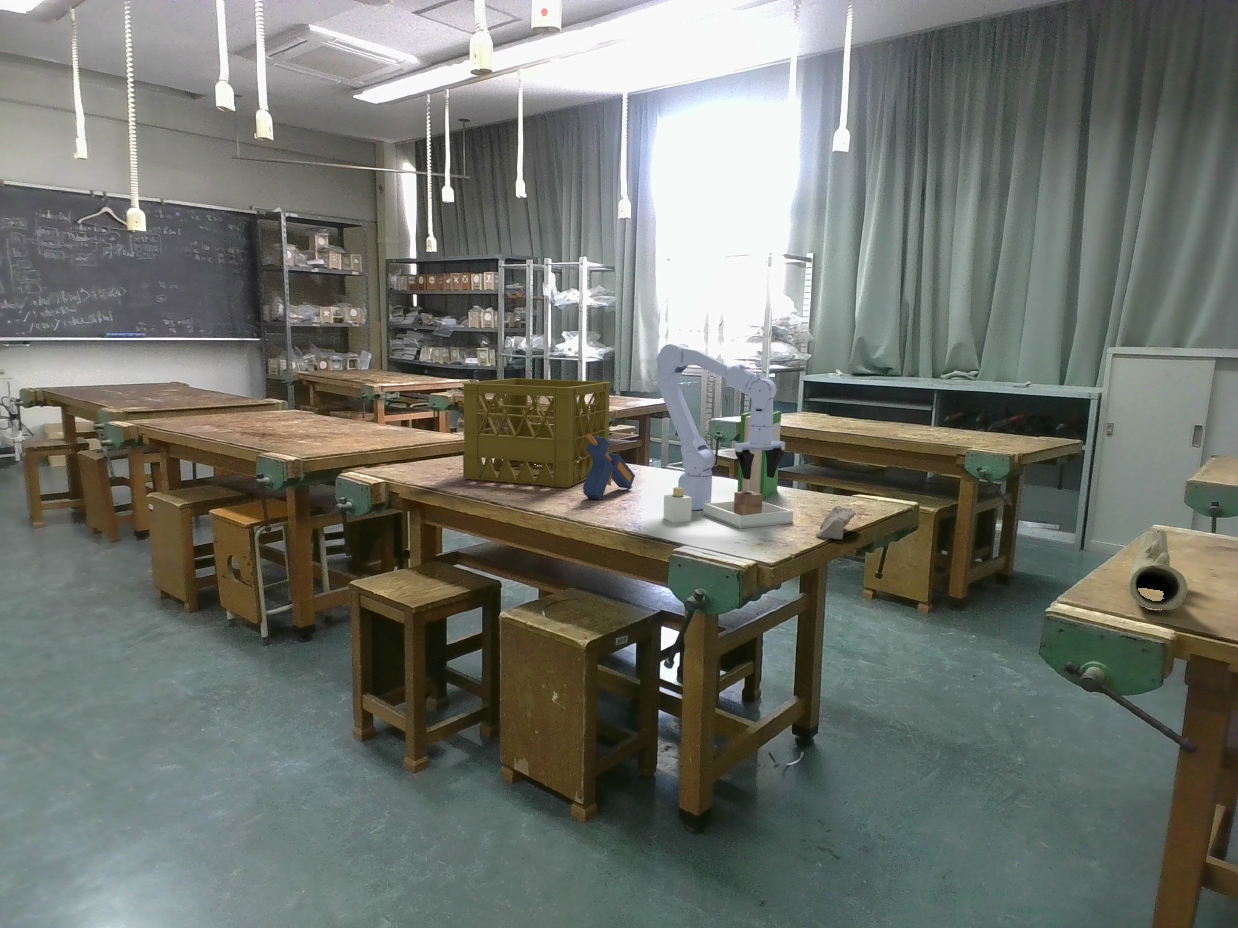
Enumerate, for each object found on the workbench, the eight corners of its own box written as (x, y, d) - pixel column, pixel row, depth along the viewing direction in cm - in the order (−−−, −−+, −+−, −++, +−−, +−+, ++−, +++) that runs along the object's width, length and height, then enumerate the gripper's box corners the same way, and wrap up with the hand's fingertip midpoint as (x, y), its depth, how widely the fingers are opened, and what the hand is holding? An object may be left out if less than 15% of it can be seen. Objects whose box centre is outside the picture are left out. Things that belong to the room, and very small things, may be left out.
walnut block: (733, 515, 201) (734, 491, 200) (749, 513, 203) (750, 490, 202) (745, 519, 196) (746, 495, 195) (761, 517, 198) (762, 494, 197)
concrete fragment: (810, 537, 183) (811, 511, 182) (830, 526, 194) (832, 502, 193) (840, 542, 179) (841, 516, 178) (859, 530, 191) (861, 505, 190)
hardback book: (762, 501, 222) (767, 416, 218) (737, 498, 225) (740, 414, 221) (777, 490, 238) (781, 411, 234) (752, 488, 241) (756, 409, 237)
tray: (703, 514, 203) (703, 503, 203) (753, 509, 210) (754, 498, 210) (739, 528, 189) (740, 516, 189) (792, 522, 196) (793, 511, 196)
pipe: (1185, 621, 132) (1193, 563, 130) (1126, 612, 135) (1133, 555, 134) (1160, 577, 156) (1167, 528, 155) (1111, 571, 160) (1117, 523, 159)
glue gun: (624, 525, 233) (639, 481, 239) (587, 478, 208) (605, 429, 213) (605, 522, 236) (621, 478, 241) (567, 475, 210) (585, 427, 216)
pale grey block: (663, 518, 198) (664, 487, 197) (680, 516, 201) (681, 485, 199) (673, 522, 194) (674, 490, 193) (691, 521, 196) (692, 489, 195)
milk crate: (463, 480, 245) (462, 383, 241) (514, 463, 278) (514, 378, 274) (568, 489, 234) (569, 387, 229) (609, 471, 267) (611, 382, 262)
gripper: (747, 428, 196) (744, 482, 198) (793, 426, 202) (790, 478, 204) (730, 425, 202) (728, 477, 204) (776, 423, 208) (773, 474, 210)
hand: (758, 478), depth 204 cm, fingers open, 7 cm apart
